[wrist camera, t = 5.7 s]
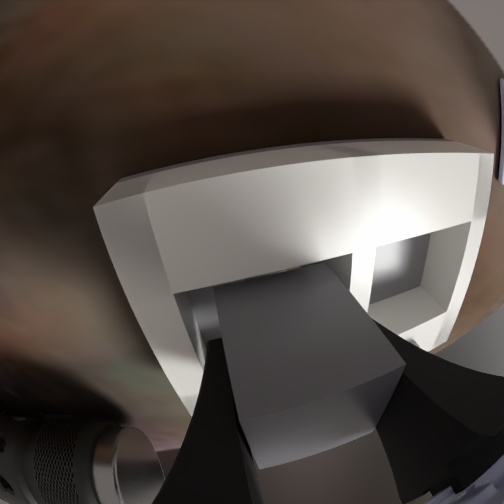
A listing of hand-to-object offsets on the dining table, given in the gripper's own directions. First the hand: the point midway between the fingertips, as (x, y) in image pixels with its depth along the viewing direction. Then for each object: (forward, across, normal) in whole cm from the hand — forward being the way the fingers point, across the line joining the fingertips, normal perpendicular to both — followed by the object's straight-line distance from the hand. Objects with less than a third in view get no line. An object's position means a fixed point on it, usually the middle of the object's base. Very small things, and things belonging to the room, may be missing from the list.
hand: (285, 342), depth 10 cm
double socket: (+4, -3, 0) cm, 5 cm away
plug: (+2, 0, 0) cm, 2 cm away
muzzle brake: (+4, +24, +10) cm, 26 cm away
